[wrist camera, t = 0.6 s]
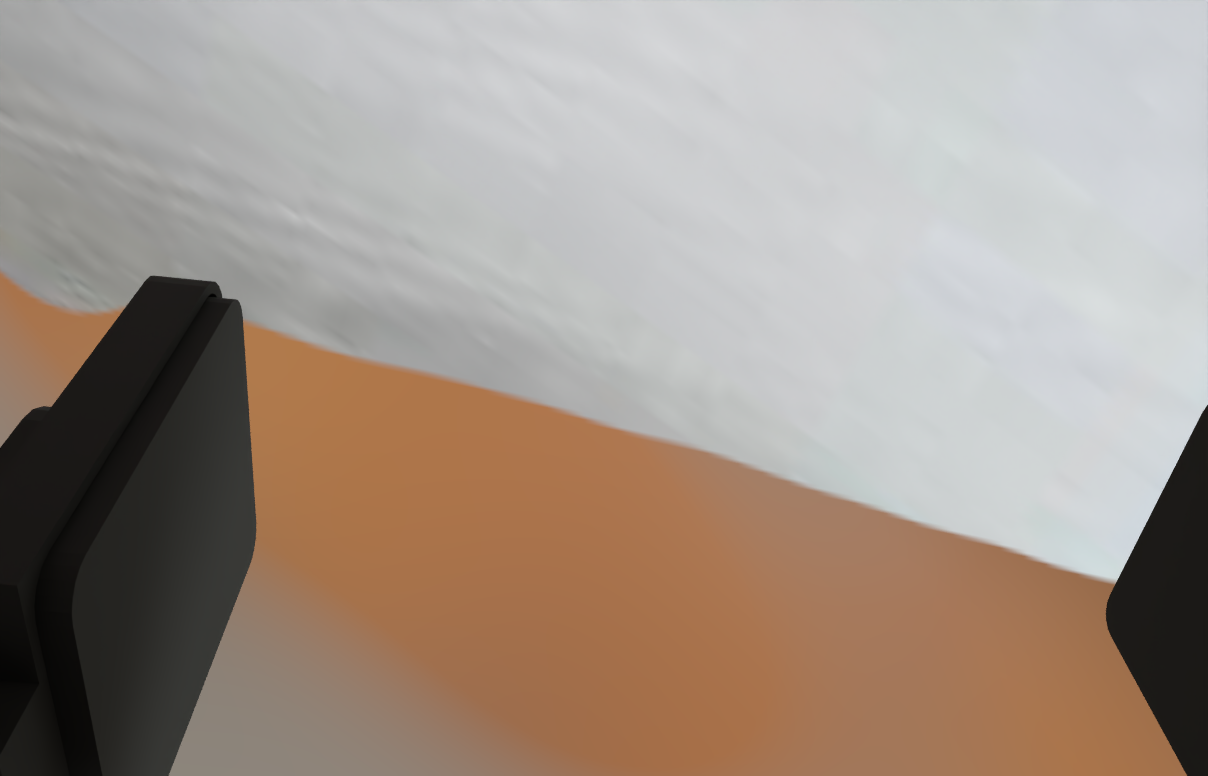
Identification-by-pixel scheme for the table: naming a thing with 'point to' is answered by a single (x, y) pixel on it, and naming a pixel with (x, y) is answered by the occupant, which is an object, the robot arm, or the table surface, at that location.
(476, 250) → the table surface
